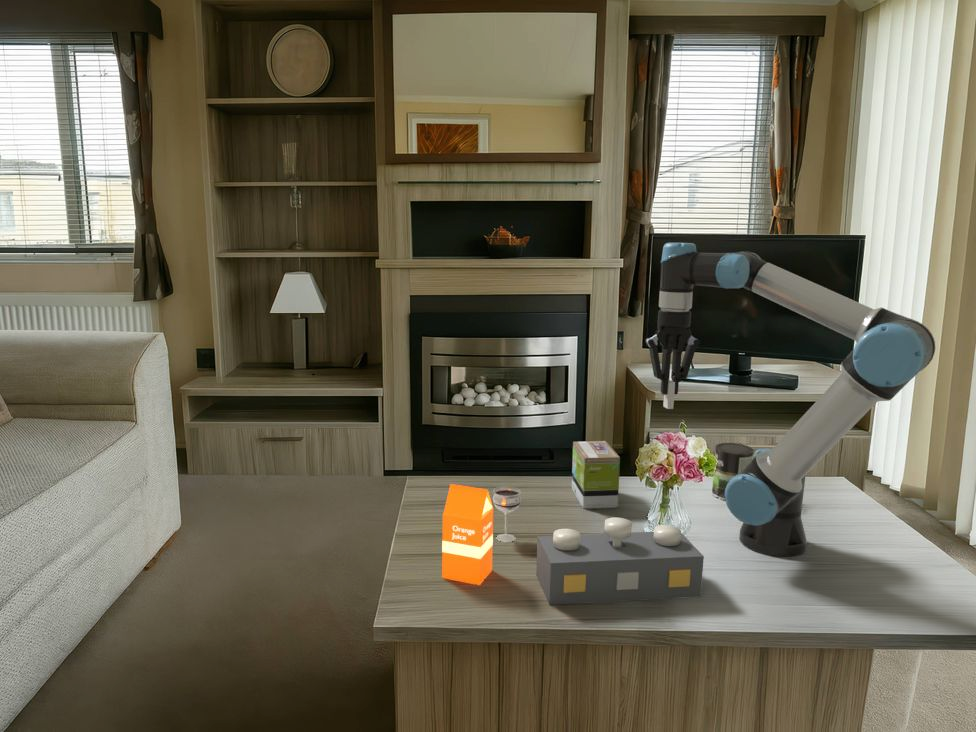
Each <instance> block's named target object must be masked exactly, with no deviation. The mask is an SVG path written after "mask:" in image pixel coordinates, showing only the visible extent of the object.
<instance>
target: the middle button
mask: <svg viewBox="0 0 976 732" xmlns="http://www.w3.org/2000/svg"><path fill="white" fill-rule="evenodd" d="M632 524H633V523H632V521H631V520H629V519H628V518H627V519H626V518H623V517H618V516H617V517H610V518H606V519H605V520H604V527H603V528H604V529H603V530H604V531H603V534H605V535H607V536H608V537H611V538H613V547H621V543H622V539H625V538H629V537H630V536H631V533H632V529H633V528H632V526H633V525H632Z"/></svg>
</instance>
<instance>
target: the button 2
mask: <svg viewBox="0 0 976 732" xmlns="http://www.w3.org/2000/svg"><path fill="white" fill-rule="evenodd" d="M653 532H654V541H655V542H656V543H658V544H660V545H664V546H677V545H679V544H680V542H681V533H682V530H681V529H680V528H679V527H676V526H674V525H669V524H659V525H657V526H655V527H654V530H653Z"/></svg>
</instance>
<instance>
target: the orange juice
mask: <svg viewBox="0 0 976 732" xmlns="http://www.w3.org/2000/svg"><path fill="white" fill-rule="evenodd" d="M491 499H492V498H491V496H490V493H489V490H488V489H485V488H480V487H473V486H466V485H461V484H460V485H459V484H453V483H450V484H449V489H448V493H447V498H446V501H445V505H444V510H443V513H442V542H441V552H442V554H441V555H442V556H441V557H442V558H441V561H442V562H441V564H442V565H441V567H442V569H441V571H442V572H441V573H442V575H441V578H442V579H446V580H451V581H457V582H462V583H466V584H471V585H476V584H477V586H481V585H482V583H483V582H484V581H485V580H486V578H487V577H488V576H489V574H490V573H491V572H492V571H493V545H494V544H493V543H494V507H493V505H494V504H493V501H492V500H491ZM484 579H485V580H484Z"/></svg>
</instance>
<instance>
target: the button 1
mask: <svg viewBox="0 0 976 732" xmlns="http://www.w3.org/2000/svg"><path fill="white" fill-rule="evenodd" d="M580 535H581V533H580V532H579V531H578V530H575V529H572V528H559V529H556V530H555V531H554V532H553V535H552V536H553V546H554V547H555V548H557V549H560V550H566V551H571V550H576V549H578V548H579V547H580Z"/></svg>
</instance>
